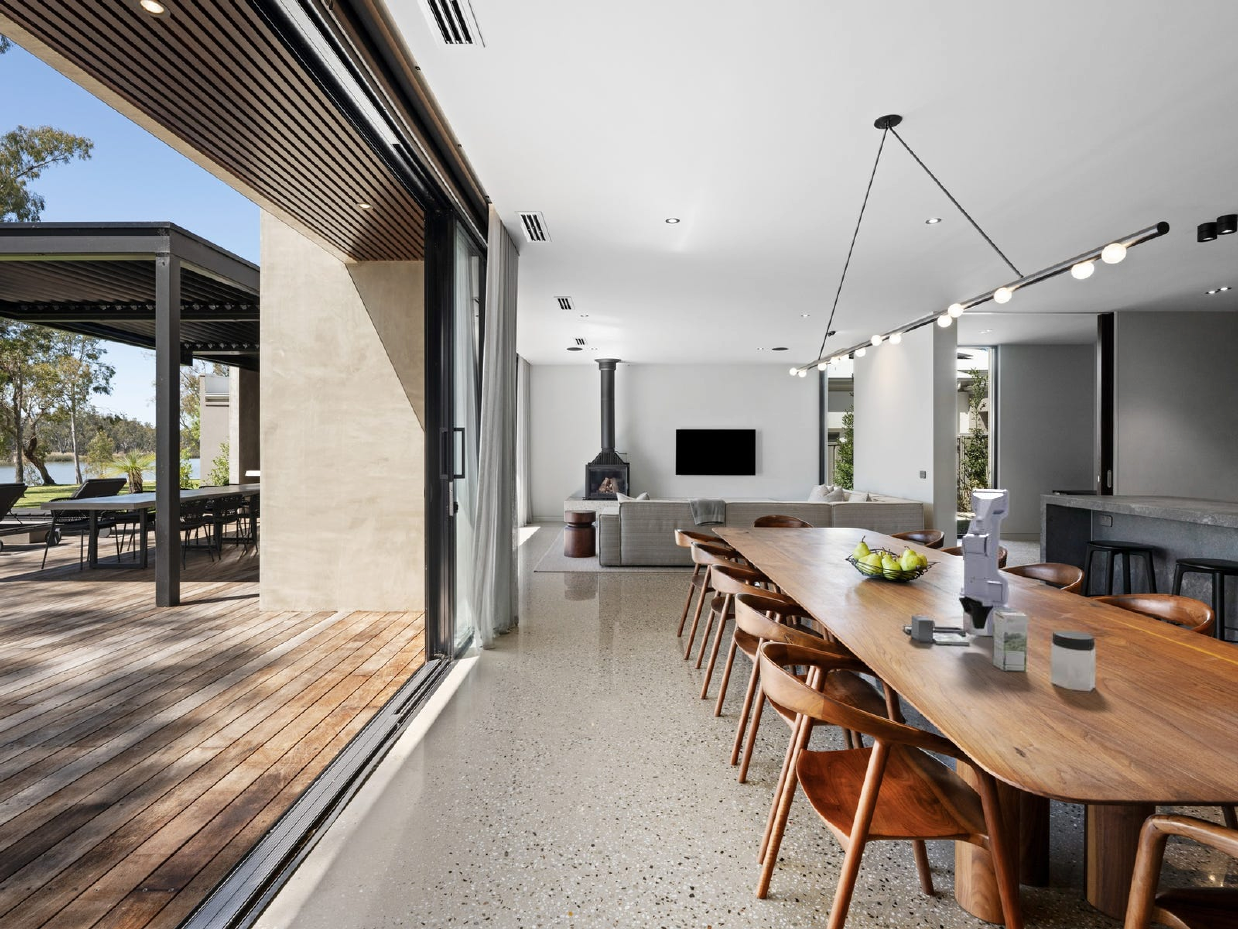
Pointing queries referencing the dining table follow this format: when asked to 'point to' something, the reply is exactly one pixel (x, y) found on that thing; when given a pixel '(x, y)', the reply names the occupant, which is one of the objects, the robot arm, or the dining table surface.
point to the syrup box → (1010, 640)
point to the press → (935, 632)
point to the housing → (972, 625)
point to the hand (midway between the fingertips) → (975, 626)
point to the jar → (1073, 660)
